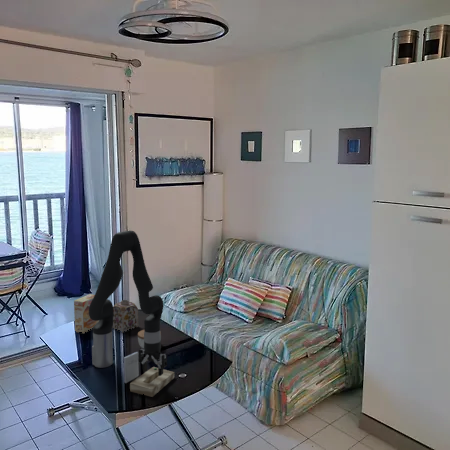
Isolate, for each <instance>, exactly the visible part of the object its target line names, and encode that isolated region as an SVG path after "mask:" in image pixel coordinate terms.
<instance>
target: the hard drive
mask: <svg viewBox="0 0 450 450" xmlns="http://www.w3.org/2000/svg"><path fill="white" fill-rule="evenodd" d="M138 356H139V351H135V352H132V353H130V354H128V355H126V356H124V357H123V383H124V384H127V383H129V382H132V381H134V380H135V379H137V378H138V377H139V375H140V374H139V370H140V369H139V368H140V367H139V361H138Z"/></svg>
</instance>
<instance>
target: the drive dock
mask: <svg viewBox="0 0 450 450" xmlns="http://www.w3.org/2000/svg"><path fill="white" fill-rule="evenodd" d="M158 368H159V367H155V366H153V367H151V368H149V369H147V371H145V372H143V374H141V375H140V376H138V377H136V378H135V379H133V380H131V381H130V383H129V389H130V391H129V392H131V393H135V394H138V395H143V394H144V396H147V397H152V398H153V397H154V396H155V395H157V393H160V391H161V390H162V389H164V387H166V386H167V385H168V384H169V383H170V382H172V380H174V379H175V371H171V370H167V369H165V368H163V374H162V375H161V376H159V375H158Z"/></svg>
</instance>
